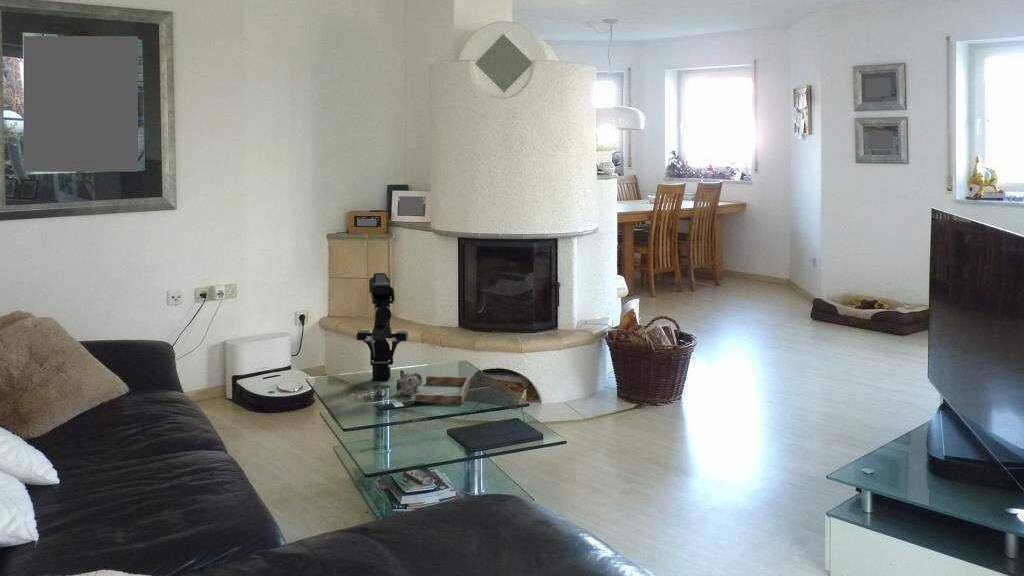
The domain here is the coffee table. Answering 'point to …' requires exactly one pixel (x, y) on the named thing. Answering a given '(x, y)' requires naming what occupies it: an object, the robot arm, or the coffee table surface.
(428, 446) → the coffee table surface
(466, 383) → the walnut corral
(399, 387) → the decorative stone
